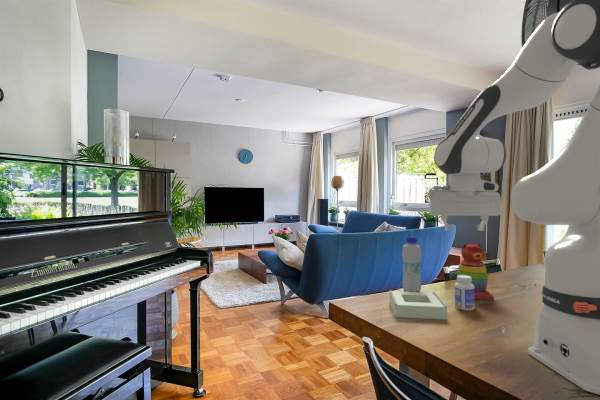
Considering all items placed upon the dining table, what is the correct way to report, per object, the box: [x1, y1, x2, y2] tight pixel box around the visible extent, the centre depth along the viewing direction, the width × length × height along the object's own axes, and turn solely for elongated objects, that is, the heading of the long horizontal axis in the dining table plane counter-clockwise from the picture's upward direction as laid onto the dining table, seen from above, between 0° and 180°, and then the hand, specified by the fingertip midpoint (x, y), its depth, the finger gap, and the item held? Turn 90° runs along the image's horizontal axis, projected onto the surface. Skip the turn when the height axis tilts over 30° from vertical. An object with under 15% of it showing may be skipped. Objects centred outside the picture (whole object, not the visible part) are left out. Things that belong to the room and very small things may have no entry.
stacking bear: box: [456, 243, 495, 301], centre depth 114 cm, size 11×10×18 cm
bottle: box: [401, 236, 423, 292], centre depth 118 cm, size 7×7×20 cm
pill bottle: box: [454, 275, 476, 312], centre depth 102 cm, size 5×5×10 cm
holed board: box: [389, 289, 448, 321], centre depth 100 cm, size 14×14×4 cm
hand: (464, 230), depth 102 cm, fingers open, 8 cm apart
